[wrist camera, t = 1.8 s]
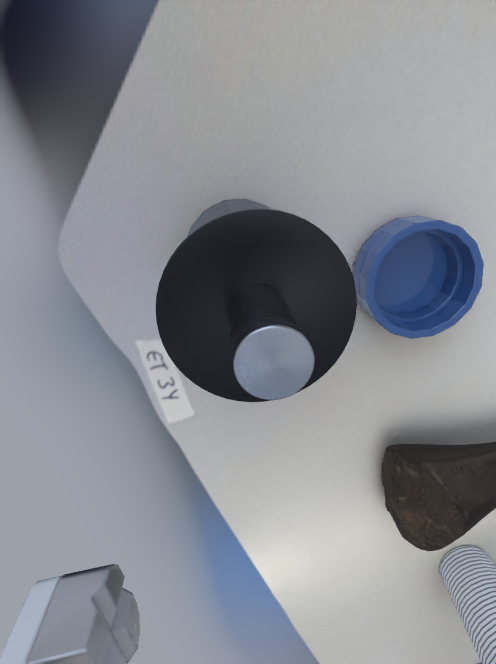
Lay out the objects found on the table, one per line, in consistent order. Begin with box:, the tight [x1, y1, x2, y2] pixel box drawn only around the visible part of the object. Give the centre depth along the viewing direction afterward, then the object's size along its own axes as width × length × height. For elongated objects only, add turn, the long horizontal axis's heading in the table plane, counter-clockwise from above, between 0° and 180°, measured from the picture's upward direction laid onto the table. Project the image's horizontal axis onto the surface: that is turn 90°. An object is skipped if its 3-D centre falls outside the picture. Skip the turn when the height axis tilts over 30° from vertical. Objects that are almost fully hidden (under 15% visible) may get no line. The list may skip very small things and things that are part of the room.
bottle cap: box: [353, 216, 484, 338], centre depth 37 cm, size 10×10×4 cm
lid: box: [156, 209, 357, 402], centre depth 19 cm, size 10×10×7 cm
